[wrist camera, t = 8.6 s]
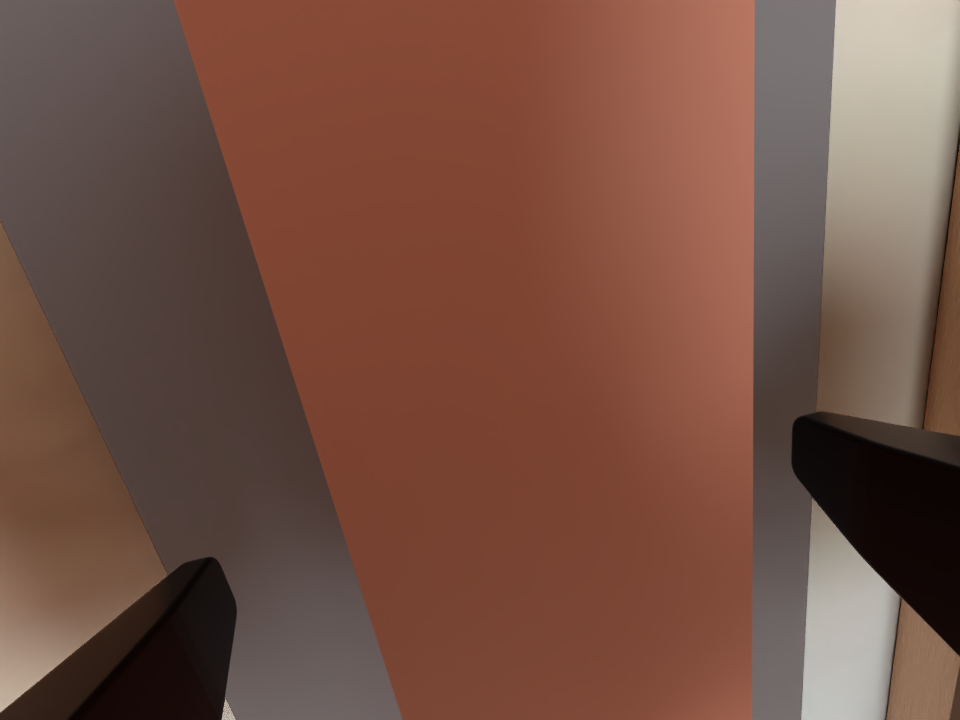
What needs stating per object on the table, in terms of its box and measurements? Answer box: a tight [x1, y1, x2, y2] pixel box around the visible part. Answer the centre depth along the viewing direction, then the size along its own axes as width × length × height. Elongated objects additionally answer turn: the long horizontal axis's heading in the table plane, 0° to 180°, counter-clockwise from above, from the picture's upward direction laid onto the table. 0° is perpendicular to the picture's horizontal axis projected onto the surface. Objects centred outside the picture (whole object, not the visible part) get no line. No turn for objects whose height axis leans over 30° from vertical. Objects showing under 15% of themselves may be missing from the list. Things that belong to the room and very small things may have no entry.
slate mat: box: [0, 0, 836, 720], centre depth 10 cm, size 30×12×1 cm, turn 10°
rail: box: [174, 0, 755, 720], centre depth 8 cm, size 26×4×4 cm, turn 10°
